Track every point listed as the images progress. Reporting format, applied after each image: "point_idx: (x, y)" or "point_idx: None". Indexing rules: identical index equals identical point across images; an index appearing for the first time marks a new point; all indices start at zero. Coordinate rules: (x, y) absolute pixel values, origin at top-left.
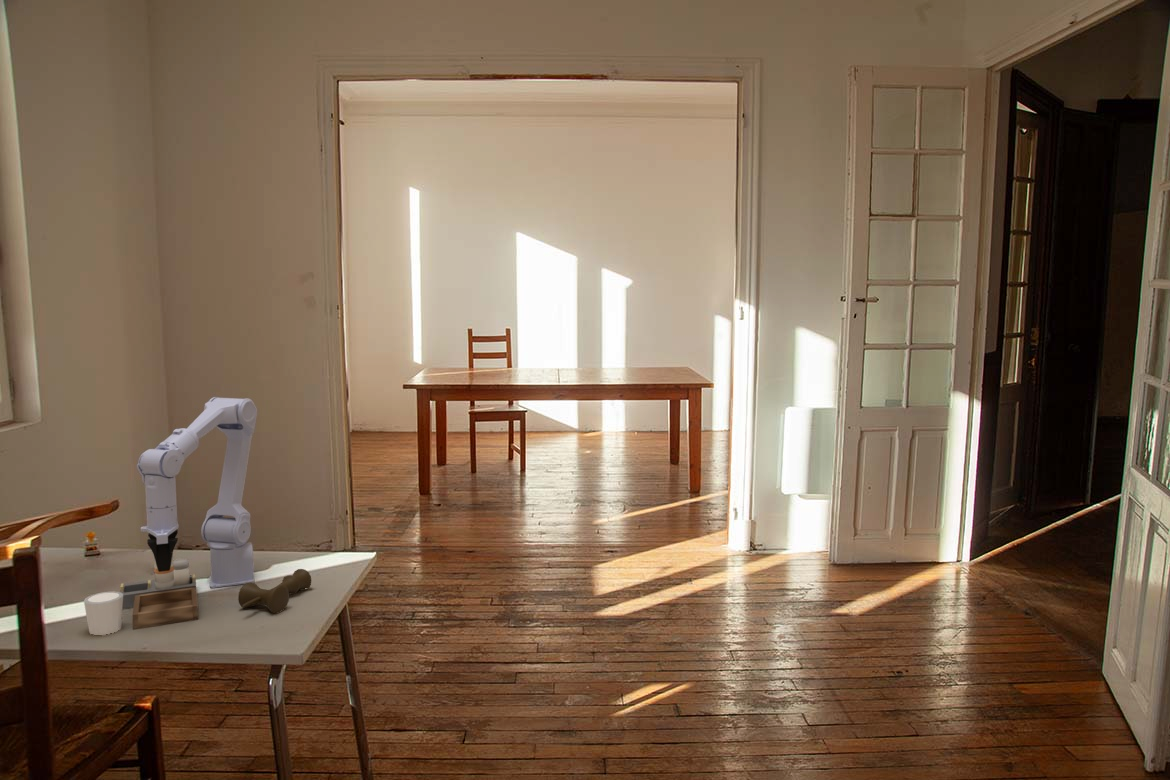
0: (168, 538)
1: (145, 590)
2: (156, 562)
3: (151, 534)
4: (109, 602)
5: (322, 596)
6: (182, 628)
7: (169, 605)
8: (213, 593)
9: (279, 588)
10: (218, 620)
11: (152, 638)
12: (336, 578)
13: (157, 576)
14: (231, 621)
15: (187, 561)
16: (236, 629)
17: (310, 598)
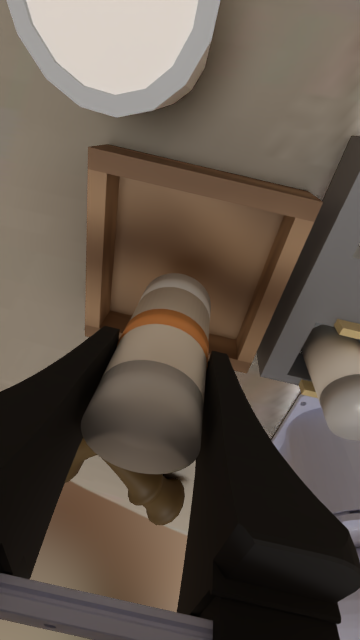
0: (192, 545)
1: (348, 249)
2: (69, 352)
3: (252, 558)
4: (11, 8)
5: (111, 482)
6: (53, 270)
7: (230, 284)
8: (263, 385)
9: None
10: (72, 343)
11: (7, 185)
12: (184, 518)
13: (143, 307)
14: (54, 359)
15: (331, 430)
16: (4, 353)
17: (112, 471)
